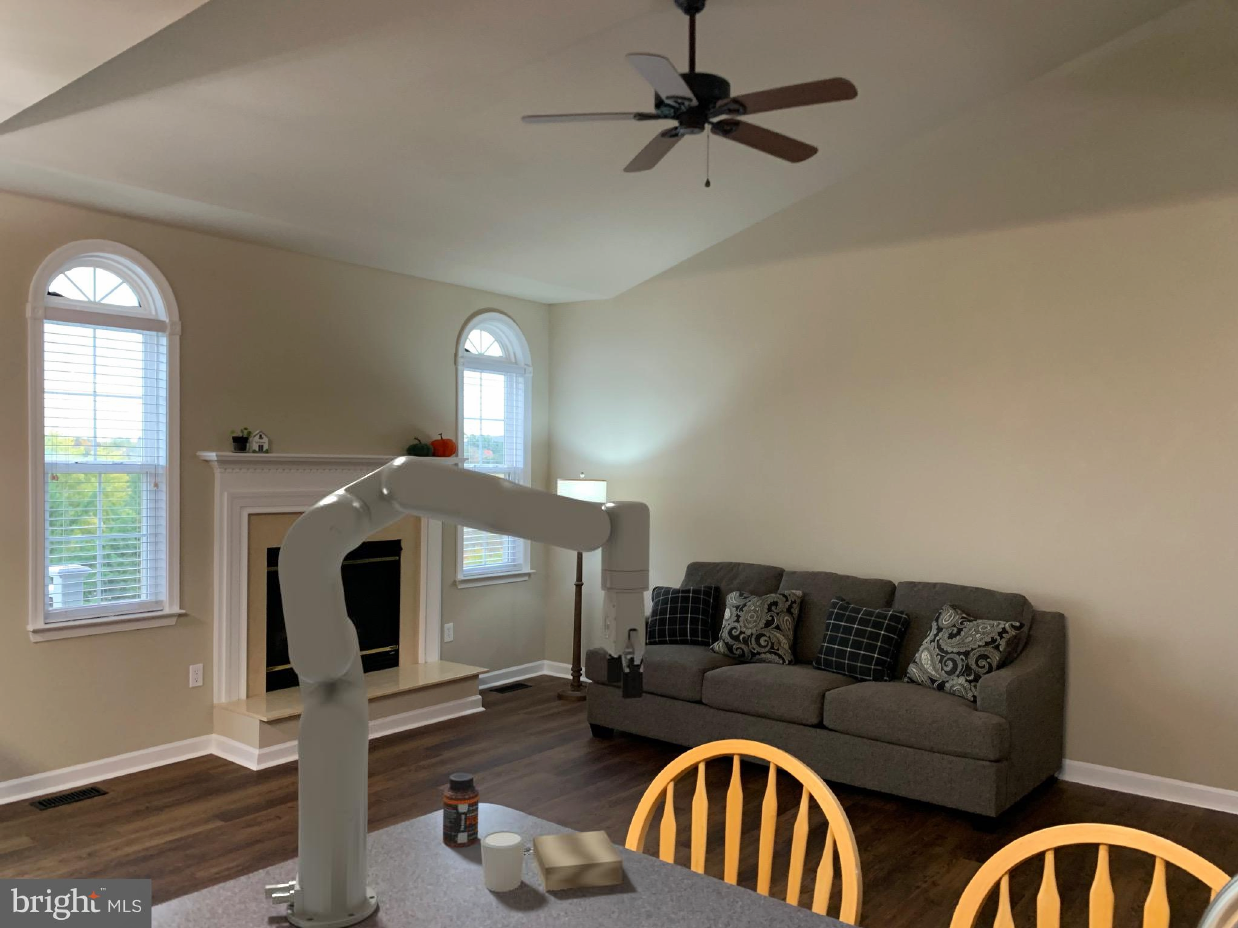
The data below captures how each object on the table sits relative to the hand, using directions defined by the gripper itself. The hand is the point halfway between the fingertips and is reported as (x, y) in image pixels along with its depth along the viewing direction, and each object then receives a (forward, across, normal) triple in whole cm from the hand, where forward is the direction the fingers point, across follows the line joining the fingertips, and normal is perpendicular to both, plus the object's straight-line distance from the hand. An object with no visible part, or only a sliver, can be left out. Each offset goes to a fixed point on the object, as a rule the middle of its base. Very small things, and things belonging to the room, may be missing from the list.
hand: (623, 689), depth 147 cm
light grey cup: (+30, -3, -18) cm, 35 cm away
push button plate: (+30, -14, -13) cm, 35 cm away
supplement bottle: (+30, -20, -23) cm, 43 cm away
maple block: (+30, -5, -6) cm, 31 cm away
